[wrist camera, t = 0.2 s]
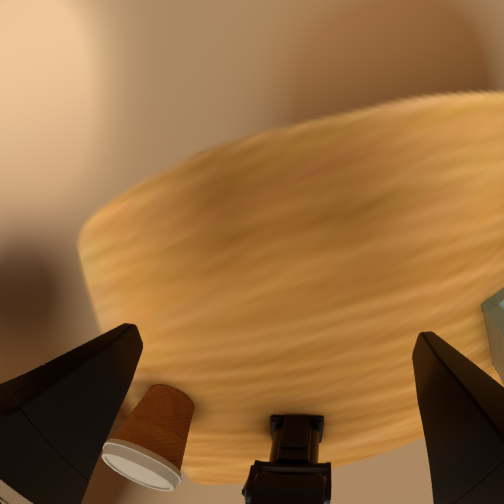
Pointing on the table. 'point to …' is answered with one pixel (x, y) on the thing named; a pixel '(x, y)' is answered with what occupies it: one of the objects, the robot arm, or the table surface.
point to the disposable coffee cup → (152, 439)
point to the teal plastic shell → (495, 329)
